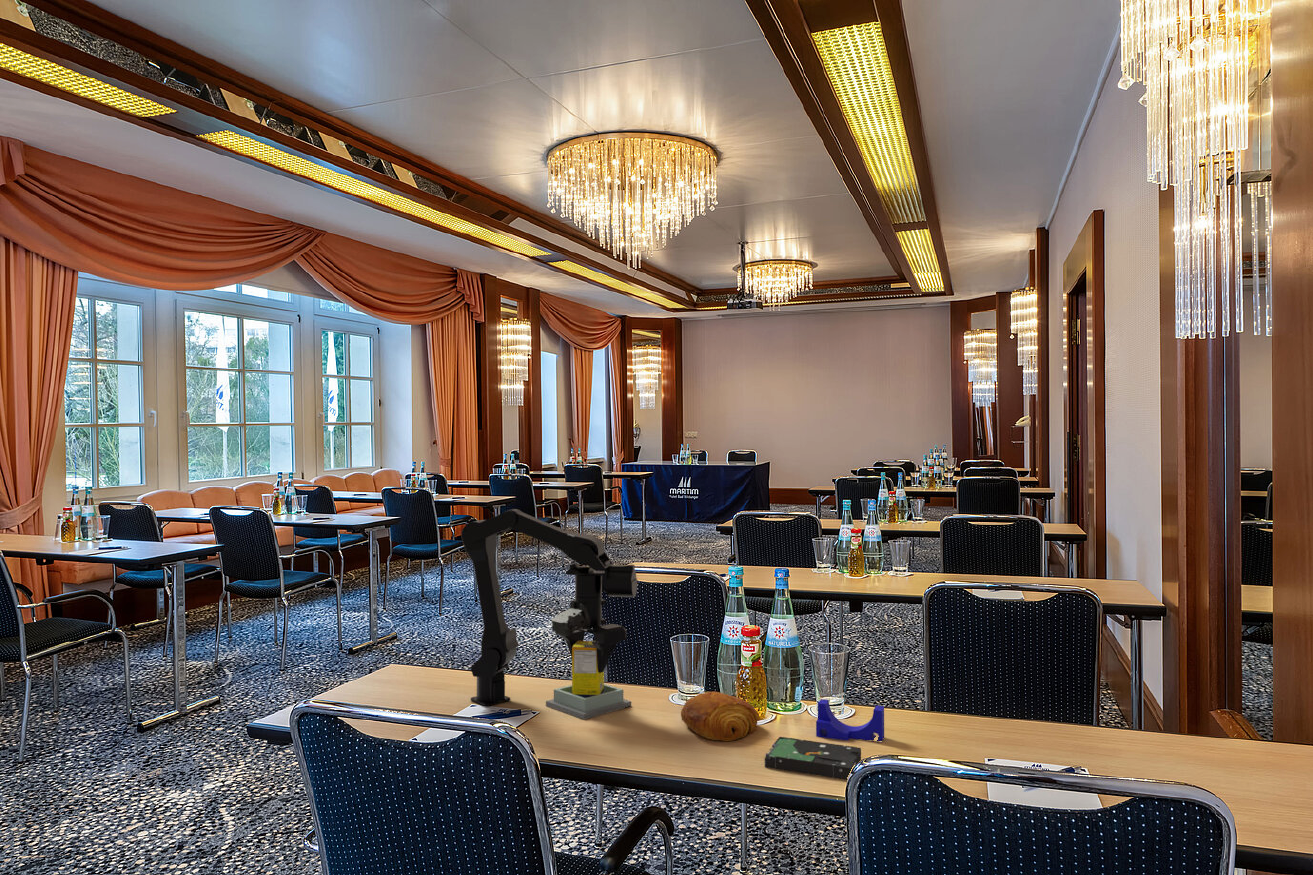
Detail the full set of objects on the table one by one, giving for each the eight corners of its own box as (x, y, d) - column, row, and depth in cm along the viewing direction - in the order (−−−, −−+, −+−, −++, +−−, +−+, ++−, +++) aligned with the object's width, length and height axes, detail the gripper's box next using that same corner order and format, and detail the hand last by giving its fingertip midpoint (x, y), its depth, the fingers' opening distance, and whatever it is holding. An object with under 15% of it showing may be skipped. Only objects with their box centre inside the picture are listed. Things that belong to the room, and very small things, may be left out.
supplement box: (604, 691, 177) (604, 640, 177) (599, 699, 171) (599, 646, 171) (577, 690, 177) (577, 639, 178) (571, 698, 171) (571, 646, 172)
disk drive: (861, 763, 143) (778, 750, 148) (861, 746, 143) (778, 734, 148) (851, 784, 133) (763, 770, 139) (851, 767, 133) (763, 753, 139)
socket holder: (545, 705, 174) (545, 689, 174) (592, 693, 183) (592, 677, 183) (583, 719, 165) (583, 702, 165) (631, 706, 174) (631, 689, 174)
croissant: (700, 758, 150) (701, 716, 149) (672, 720, 164) (672, 682, 163) (771, 746, 154) (772, 706, 153) (737, 711, 169) (738, 674, 168)
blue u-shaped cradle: (816, 737, 155) (815, 705, 155) (821, 729, 159) (821, 699, 159) (880, 745, 150) (880, 713, 150) (884, 738, 154) (884, 706, 154)
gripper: (532, 594, 176) (531, 667, 175) (586, 605, 162) (586, 684, 162) (573, 589, 184) (572, 658, 183) (628, 599, 170) (627, 674, 170)
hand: (588, 668), depth 174 cm, fingers closed on supplement box, 8 cm apart
